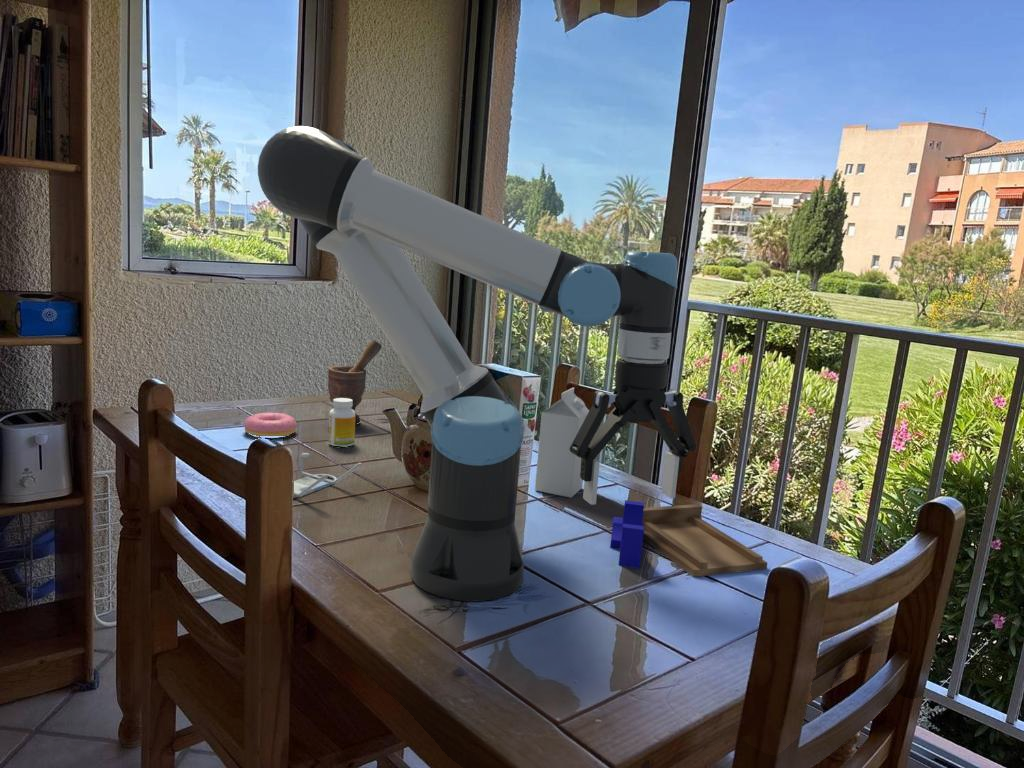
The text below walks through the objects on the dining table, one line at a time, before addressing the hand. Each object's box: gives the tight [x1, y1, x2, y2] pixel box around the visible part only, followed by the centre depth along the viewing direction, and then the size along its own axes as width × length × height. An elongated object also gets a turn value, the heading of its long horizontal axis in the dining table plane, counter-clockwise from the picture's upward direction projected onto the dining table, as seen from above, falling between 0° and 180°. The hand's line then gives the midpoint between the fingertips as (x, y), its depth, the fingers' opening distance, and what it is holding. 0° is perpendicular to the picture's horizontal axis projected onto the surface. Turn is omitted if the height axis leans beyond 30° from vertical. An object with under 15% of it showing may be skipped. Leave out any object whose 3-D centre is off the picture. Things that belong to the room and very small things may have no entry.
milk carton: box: [534, 387, 590, 499], centre depth 137 cm, size 7×7×19 cm
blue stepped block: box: [609, 499, 645, 569], centre depth 112 cm, size 12×4×6 cm, turn 170°
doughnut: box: [243, 412, 298, 439], centre depth 160 cm, size 11×11×4 cm
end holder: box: [642, 503, 768, 578], centre depth 115 cm, size 13×18×4 cm
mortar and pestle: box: [327, 340, 382, 424], centre depth 173 cm, size 12×9×20 cm
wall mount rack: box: [293, 452, 363, 499], centre depth 127 cm, size 16×14×6 cm
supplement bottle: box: [327, 398, 356, 447], centre depth 155 cm, size 5×5×10 cm
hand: (629, 498), depth 112 cm, fingers open, 13 cm apart
